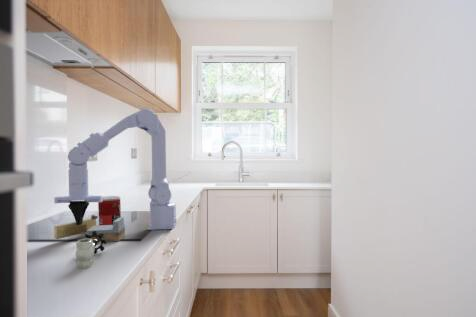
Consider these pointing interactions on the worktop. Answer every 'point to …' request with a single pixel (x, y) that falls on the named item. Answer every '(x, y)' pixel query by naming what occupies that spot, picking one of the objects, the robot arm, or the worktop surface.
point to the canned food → (109, 210)
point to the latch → (74, 228)
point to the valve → (88, 249)
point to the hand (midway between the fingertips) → (79, 224)
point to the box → (111, 236)
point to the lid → (108, 227)
